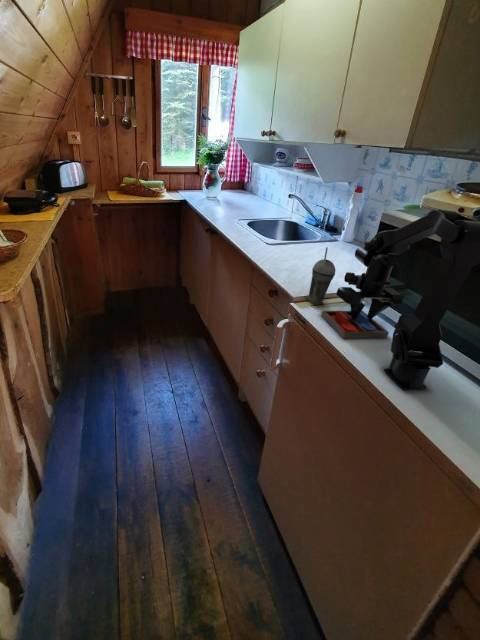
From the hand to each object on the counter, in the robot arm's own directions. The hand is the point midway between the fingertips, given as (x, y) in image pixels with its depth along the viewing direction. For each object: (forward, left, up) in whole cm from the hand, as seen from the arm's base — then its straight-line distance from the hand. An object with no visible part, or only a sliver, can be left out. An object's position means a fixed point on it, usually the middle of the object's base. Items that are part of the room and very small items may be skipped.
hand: (360, 319), depth 95 cm
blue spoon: (-1, 0, -1) cm, 2 cm away
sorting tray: (-1, +3, -2) cm, 4 cm away
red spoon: (-1, +7, -1) cm, 7 cm away
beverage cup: (+14, +7, -2) cm, 16 cm away
